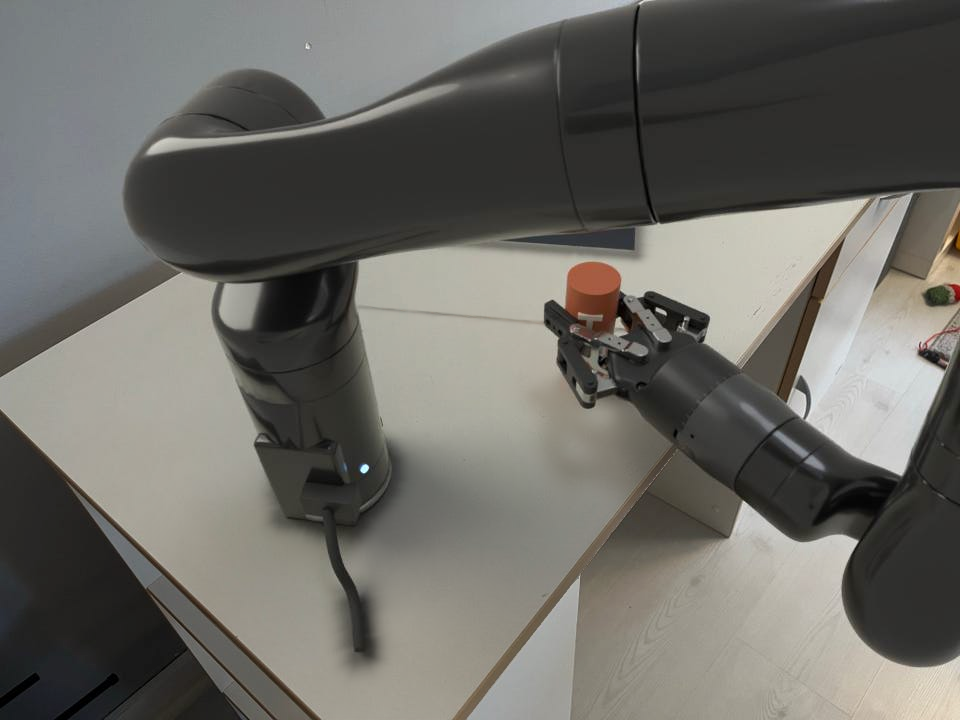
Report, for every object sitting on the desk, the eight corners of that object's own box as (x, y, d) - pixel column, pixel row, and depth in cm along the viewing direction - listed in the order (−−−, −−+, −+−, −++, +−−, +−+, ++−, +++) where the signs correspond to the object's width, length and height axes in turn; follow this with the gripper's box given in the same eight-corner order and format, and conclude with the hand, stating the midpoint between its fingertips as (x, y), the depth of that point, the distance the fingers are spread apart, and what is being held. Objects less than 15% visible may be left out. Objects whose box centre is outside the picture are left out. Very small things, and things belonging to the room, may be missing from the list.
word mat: (633, 254, 80) (634, 249, 80) (393, 236, 84) (392, 232, 84) (636, 196, 89) (636, 191, 88) (416, 182, 93) (416, 178, 92)
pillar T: (608, 384, 64) (620, 298, 57) (558, 379, 64) (564, 293, 57) (610, 349, 67) (622, 263, 60) (563, 344, 67) (569, 259, 60)
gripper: (795, 339, 53) (633, 233, 63) (656, 429, 48) (503, 296, 58) (769, 406, 58) (624, 298, 68) (641, 493, 53) (504, 362, 63)
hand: (569, 298), depth 63 cm, fingers closed on pillar T, 4 cm apart
